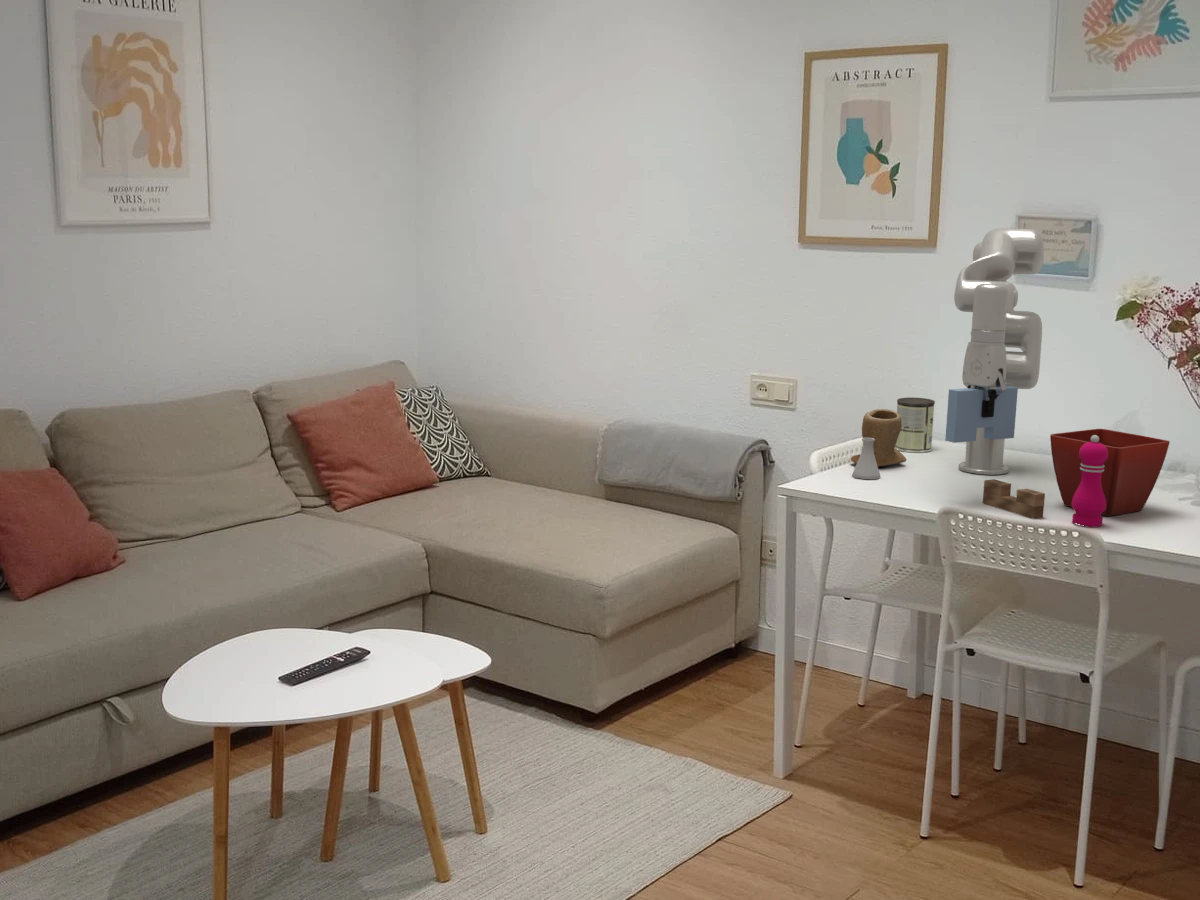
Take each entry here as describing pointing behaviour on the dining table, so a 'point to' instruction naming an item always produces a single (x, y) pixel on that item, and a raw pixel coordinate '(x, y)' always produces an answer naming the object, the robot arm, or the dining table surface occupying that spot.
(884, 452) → the stone cup
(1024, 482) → the dining table surface
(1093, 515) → the pepper mill
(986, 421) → the blue notched block
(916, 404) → the coffee can
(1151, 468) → the plant pot
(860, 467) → the flask
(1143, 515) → the dining table surface
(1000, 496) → the walnut u-shaped block
